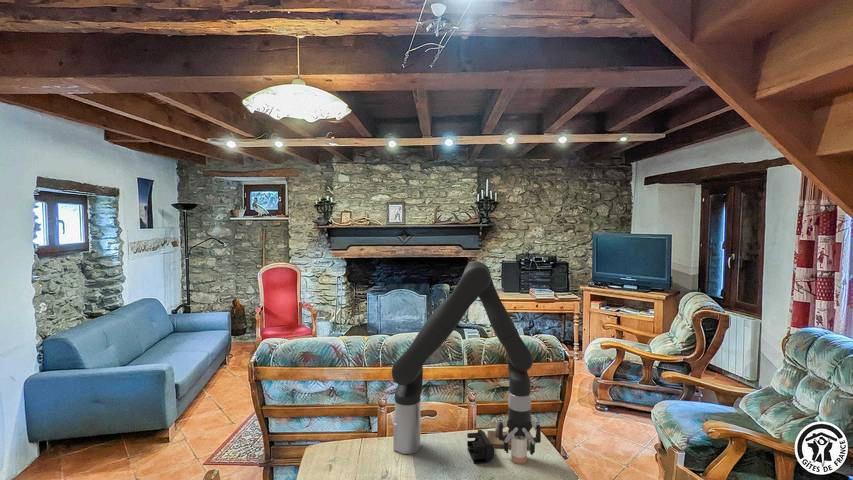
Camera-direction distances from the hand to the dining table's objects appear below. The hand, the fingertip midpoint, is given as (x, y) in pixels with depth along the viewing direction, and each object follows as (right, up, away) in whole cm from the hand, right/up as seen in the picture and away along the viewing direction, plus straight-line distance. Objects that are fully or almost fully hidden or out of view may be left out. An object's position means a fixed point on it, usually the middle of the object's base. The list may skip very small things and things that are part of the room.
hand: (519, 452), depth 134 cm
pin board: (-2, -2, +11) cm, 11 cm away
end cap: (-13, -3, +2) cm, 13 cm away
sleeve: (0, -2, 0) cm, 2 cm away
